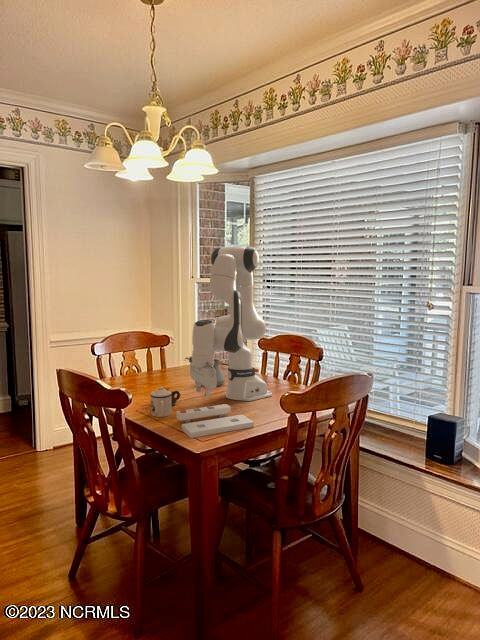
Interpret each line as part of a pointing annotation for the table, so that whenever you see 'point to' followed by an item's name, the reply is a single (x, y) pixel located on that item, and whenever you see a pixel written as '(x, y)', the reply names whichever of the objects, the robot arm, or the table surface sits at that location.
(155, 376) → the table surface
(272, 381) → the table surface
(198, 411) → the power strip
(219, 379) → the coffee pot
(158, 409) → the teacup with lid
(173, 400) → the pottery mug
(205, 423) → the plate
